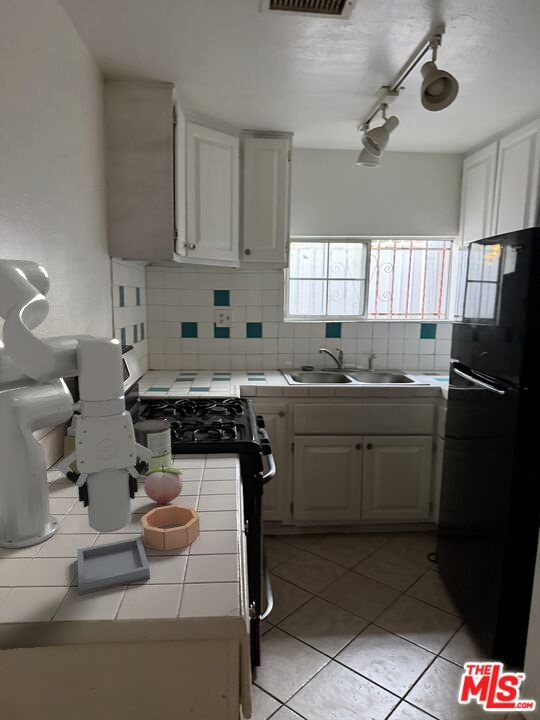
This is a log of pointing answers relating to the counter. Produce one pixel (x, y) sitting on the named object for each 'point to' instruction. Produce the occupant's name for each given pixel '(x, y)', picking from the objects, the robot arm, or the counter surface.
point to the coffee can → (154, 443)
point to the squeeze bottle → (71, 443)
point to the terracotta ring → (172, 536)
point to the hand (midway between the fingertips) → (109, 499)
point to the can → (108, 500)
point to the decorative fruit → (163, 484)
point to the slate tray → (111, 565)
